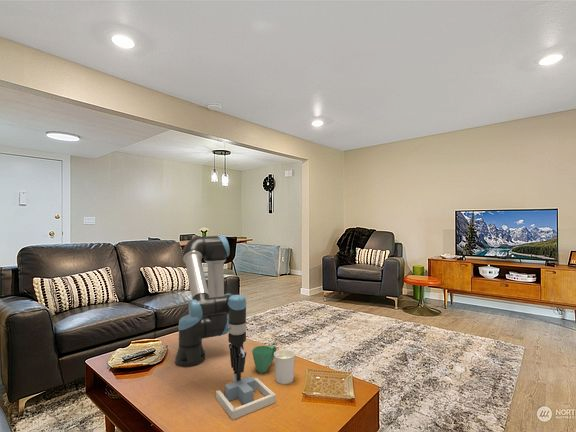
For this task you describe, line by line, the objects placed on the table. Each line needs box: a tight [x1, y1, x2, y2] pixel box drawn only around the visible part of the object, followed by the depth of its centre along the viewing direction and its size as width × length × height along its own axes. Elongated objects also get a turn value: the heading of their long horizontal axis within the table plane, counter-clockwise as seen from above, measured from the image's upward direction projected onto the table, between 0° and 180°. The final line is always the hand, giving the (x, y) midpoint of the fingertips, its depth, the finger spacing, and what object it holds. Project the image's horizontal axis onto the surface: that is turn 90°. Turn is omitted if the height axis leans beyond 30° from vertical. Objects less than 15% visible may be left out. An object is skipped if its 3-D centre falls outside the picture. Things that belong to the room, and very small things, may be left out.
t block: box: [224, 375, 256, 405], centre depth 127 cm, size 10×12×5 cm
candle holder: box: [273, 348, 296, 385], centre depth 141 cm, size 10×10×12 cm
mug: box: [251, 344, 277, 374], centre depth 152 cm, size 15×10×10 cm
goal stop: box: [215, 377, 277, 420], centre depth 125 cm, size 16×19×3 cm
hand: (237, 386), depth 132 cm, fingers closed
